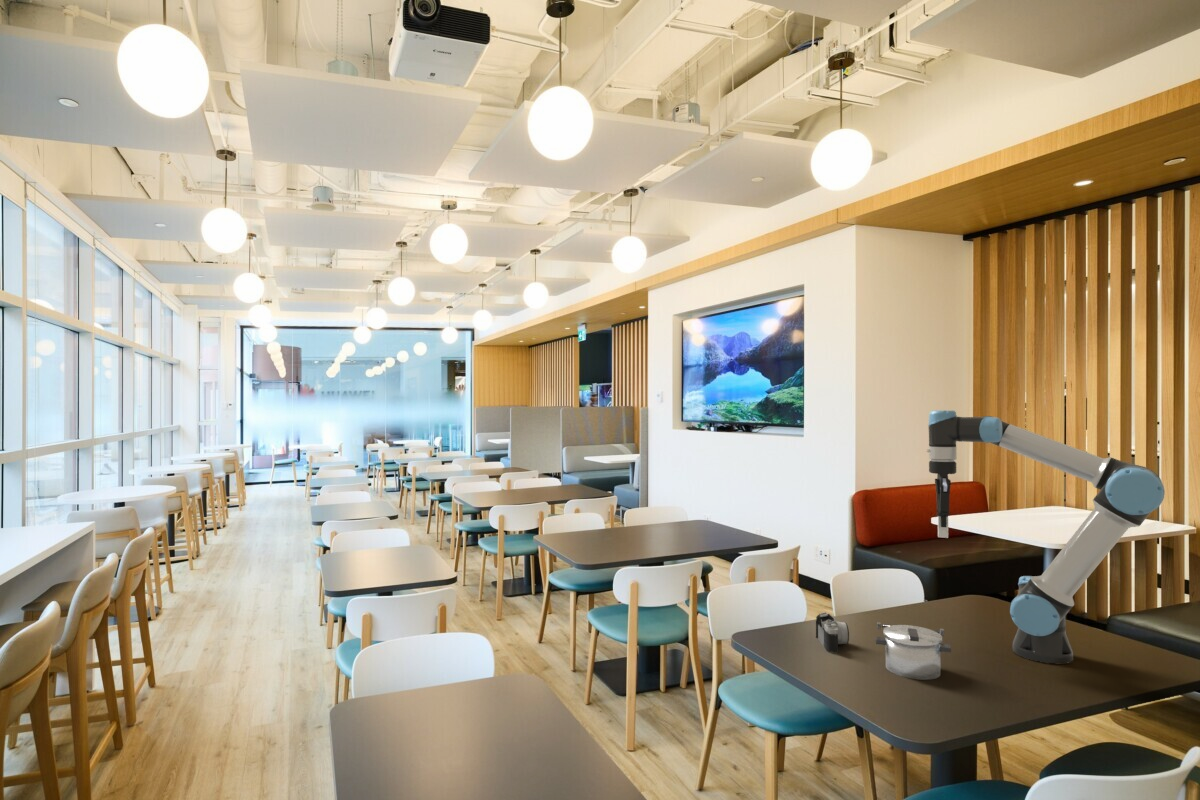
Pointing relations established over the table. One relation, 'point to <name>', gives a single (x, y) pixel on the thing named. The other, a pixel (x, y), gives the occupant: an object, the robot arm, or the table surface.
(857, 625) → the table surface
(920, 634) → the lid
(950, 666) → the table surface
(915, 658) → the pot
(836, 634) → the camera
